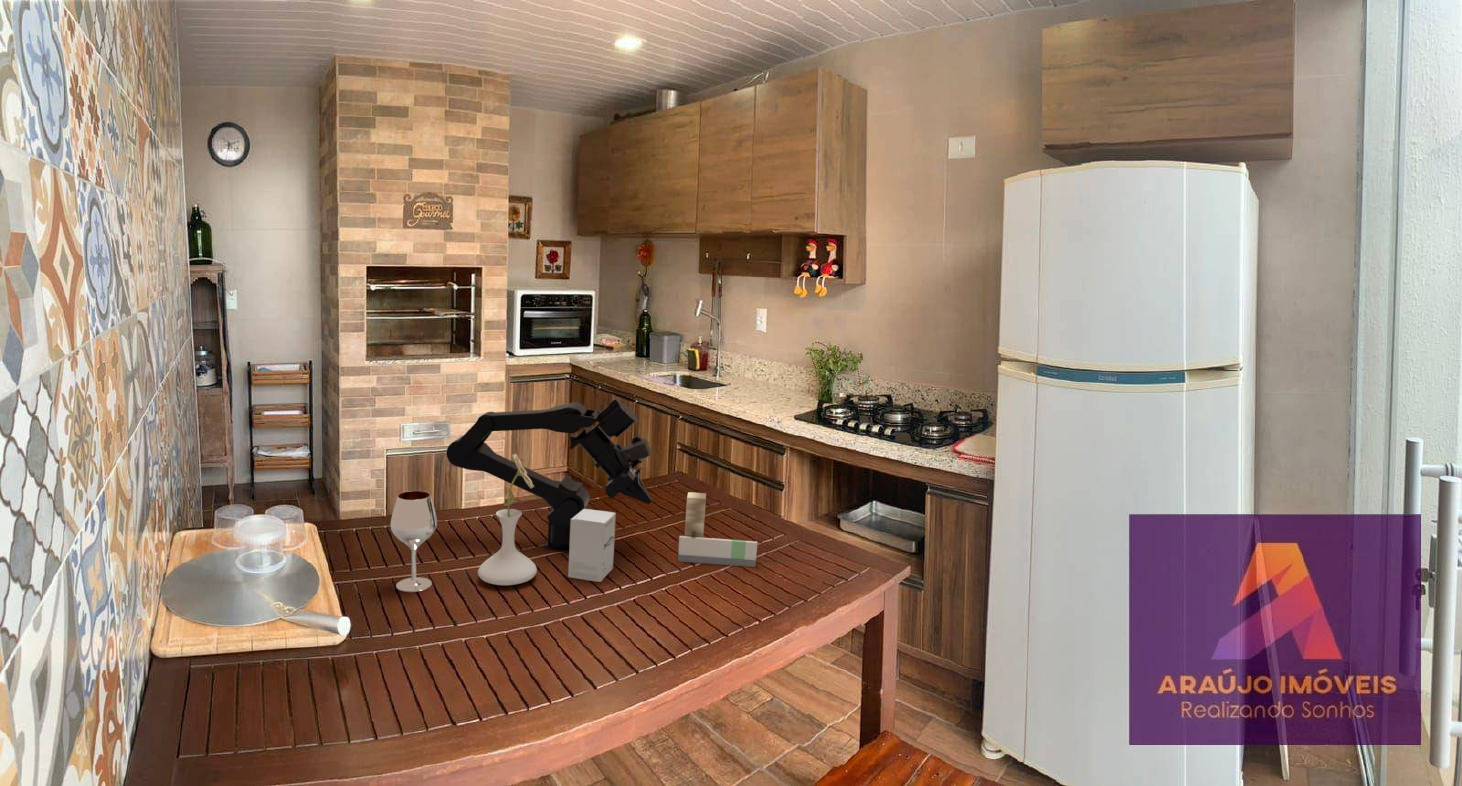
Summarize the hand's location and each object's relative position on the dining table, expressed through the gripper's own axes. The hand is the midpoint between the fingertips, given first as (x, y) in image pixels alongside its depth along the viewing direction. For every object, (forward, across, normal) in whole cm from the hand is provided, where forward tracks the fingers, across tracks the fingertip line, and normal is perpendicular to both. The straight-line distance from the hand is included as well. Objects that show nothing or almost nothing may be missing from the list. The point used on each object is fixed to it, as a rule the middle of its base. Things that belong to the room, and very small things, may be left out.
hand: (650, 502), depth 178 cm
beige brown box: (+14, -1, 0) cm, 14 cm away
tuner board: (+19, 0, -3) cm, 19 cm away
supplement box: (+1, -14, +16) cm, 21 cm away
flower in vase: (-10, -19, +26) cm, 34 cm away
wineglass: (-21, -26, +38) cm, 51 cm away
